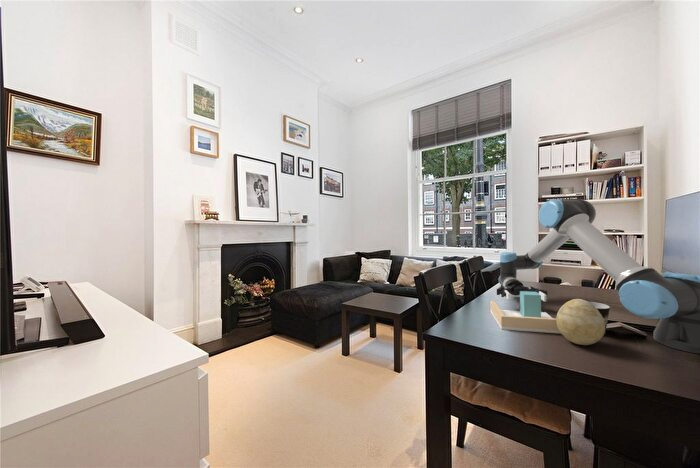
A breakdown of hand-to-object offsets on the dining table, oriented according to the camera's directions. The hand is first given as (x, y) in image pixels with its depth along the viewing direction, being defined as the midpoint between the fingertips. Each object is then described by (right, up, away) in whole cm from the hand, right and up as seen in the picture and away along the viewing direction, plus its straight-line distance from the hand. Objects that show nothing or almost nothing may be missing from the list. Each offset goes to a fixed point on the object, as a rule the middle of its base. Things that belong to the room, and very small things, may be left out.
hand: (527, 297), depth 120 cm
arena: (-3, -9, -4) cm, 10 cm away
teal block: (0, -8, -2) cm, 8 cm away
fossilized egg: (+2, -10, -25) cm, 27 cm away
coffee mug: (+13, -9, -16) cm, 23 cm away
